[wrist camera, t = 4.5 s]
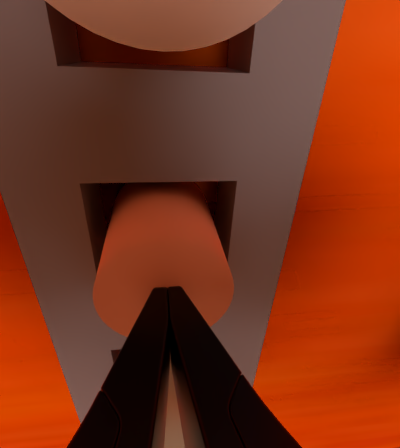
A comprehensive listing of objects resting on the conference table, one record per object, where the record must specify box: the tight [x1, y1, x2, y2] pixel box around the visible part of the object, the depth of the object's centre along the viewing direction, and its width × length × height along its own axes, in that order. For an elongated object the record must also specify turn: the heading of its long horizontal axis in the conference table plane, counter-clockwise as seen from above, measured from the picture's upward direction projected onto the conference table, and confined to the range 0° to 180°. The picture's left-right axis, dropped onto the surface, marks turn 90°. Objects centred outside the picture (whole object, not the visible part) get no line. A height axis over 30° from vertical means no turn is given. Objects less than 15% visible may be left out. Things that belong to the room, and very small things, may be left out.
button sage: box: [164, 360, 185, 448], centre depth 13 cm, size 4×4×5 cm
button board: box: [0, 0, 346, 423], centre depth 12 cm, size 25×10×3 cm, turn 178°
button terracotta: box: [93, 182, 234, 337], centre depth 11 cm, size 4×4×5 cm
